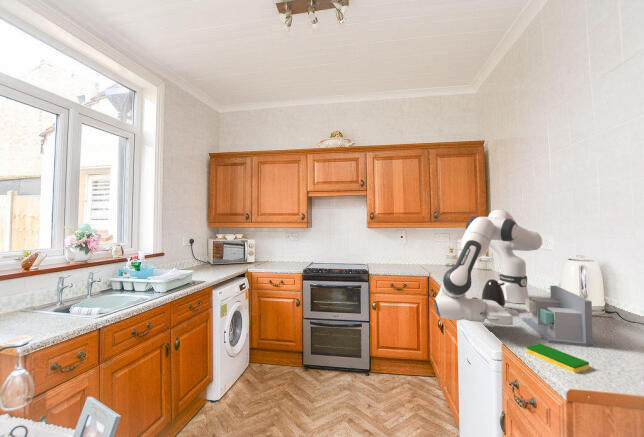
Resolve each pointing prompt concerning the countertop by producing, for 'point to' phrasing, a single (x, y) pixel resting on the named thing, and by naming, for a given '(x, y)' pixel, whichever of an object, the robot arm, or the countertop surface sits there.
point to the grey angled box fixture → (564, 318)
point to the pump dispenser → (494, 292)
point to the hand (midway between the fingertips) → (517, 313)
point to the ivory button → (530, 305)
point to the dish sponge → (558, 357)
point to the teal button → (546, 316)
